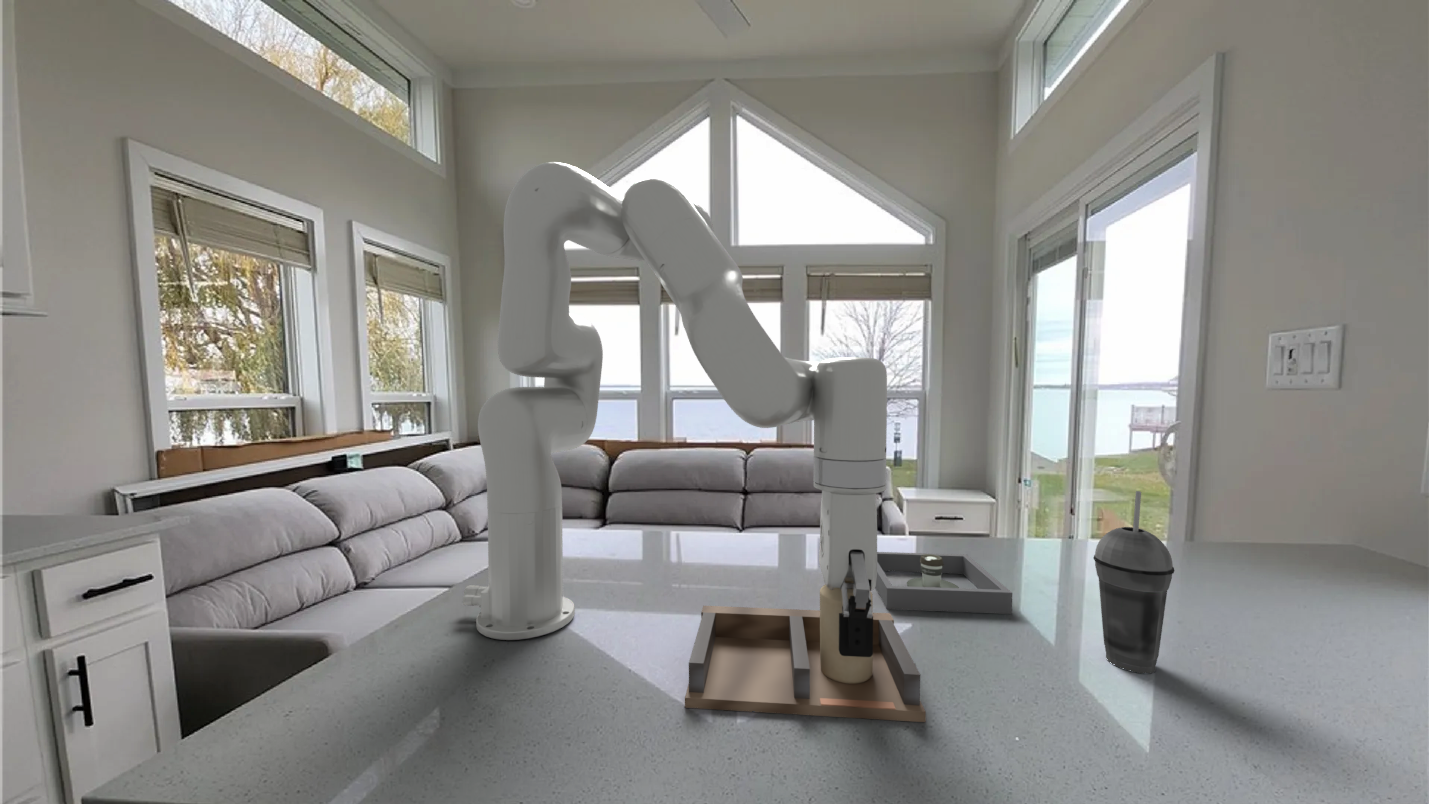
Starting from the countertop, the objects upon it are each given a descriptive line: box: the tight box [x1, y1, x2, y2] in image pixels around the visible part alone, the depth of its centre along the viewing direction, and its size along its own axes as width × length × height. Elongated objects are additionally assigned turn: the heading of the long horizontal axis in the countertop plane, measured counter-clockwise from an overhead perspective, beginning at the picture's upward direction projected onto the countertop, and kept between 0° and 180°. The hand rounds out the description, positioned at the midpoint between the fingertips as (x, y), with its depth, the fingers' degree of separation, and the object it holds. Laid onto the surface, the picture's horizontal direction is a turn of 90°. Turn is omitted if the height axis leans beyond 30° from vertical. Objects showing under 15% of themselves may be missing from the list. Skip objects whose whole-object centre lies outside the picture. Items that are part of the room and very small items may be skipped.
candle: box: [819, 581, 874, 684], centre depth 57 cm, size 6×6×10 cm
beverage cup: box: [1093, 490, 1175, 674], centre depth 61 cm, size 7×7×20 cm
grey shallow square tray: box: [874, 551, 1013, 615], centre depth 84 cm, size 17×17×3 cm
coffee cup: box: [906, 553, 960, 588], centre depth 83 cm, size 12×12×5 cm
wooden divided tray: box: [684, 605, 927, 723], centre depth 59 cm, size 23×15×4 cm, turn 84°
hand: (848, 632), depth 57 cm, fingers open, 9 cm apart
